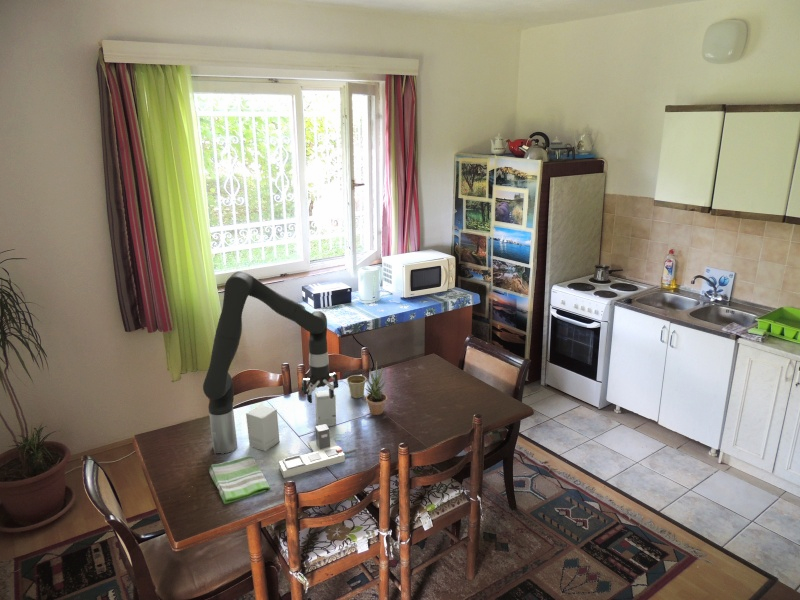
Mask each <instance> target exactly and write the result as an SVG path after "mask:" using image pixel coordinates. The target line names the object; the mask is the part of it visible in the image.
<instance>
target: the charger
mask: <svg viewBox="0 0 800 600" xmlns="http://www.w3.org/2000/svg"><path fill="white" fill-rule="evenodd" d="M314 428H315V429H314V431H315V440H316V444H317V446H318V447H319V449H323V448H326V447H330V436H331V434H330V427H329V426H327V425H326V424H323V425H319V426H317V425H316V426H315V427H314Z"/></svg>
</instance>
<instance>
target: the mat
mask: <svg viewBox="0 0 800 600" xmlns="http://www.w3.org/2000/svg"><path fill="white" fill-rule="evenodd" d="M307 445H308V446H309V448H310V449H311V450H312V453H313V452H317V451H320V450H324V449H328V448H332V447H336V446H339V445H338V444H337V443H336V441H335V439H333V436H331V435H330V447H326V448H323V449H319V447H318V446H317V444H316V439H315V440H311V441H307Z"/></svg>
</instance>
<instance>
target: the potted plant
mask: <svg viewBox="0 0 800 600" xmlns="http://www.w3.org/2000/svg"><path fill="white" fill-rule="evenodd" d="M371 371H372V370H369V374H370V379H371V382H370V380H369V379H368V378H366V382H367V383H368V384H367V385H366V387H367V388H366V387H364V390H366V391H367V395H366V397H365V402H366V403H367V405H368V409H369V413H370V414H371V415H374V416H378V415H382V414H383V412H384V409H385V406H386V403H387V401H388V396H387V395H386V394H384V393H383V390H382V389H383V388H384V386H385V384H386V381H387V380H385V381H384V382H383V378H382V374H383V372H384V369H383V368H381V369H380V372H379V373H378V361H376V362H375V377H374V374H373V372H371ZM382 382H383V383H382ZM381 384H382V385H381Z"/></svg>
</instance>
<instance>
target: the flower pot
mask: <svg viewBox="0 0 800 600" xmlns="http://www.w3.org/2000/svg"><path fill="white" fill-rule="evenodd" d="M346 382H347V384H348V387H349V392H350V397H352V398H354V399H360V398H362V397H364V396H365V388H366V387H365V385H366V382H367V377H366V376H365V375H360V374H354V375H350V376H347V378H346Z"/></svg>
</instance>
